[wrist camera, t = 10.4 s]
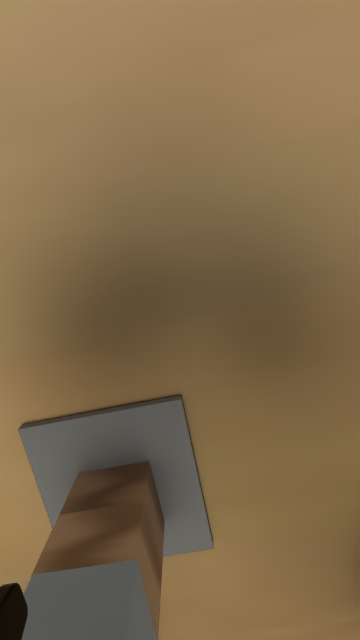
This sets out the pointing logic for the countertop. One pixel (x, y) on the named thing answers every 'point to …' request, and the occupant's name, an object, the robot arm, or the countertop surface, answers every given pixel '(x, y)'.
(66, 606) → the pale grey cube
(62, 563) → the tower top
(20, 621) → the robot arm
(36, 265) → the countertop surface
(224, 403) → the countertop surface
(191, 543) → the mat
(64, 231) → the countertop surface
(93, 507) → the tower base
